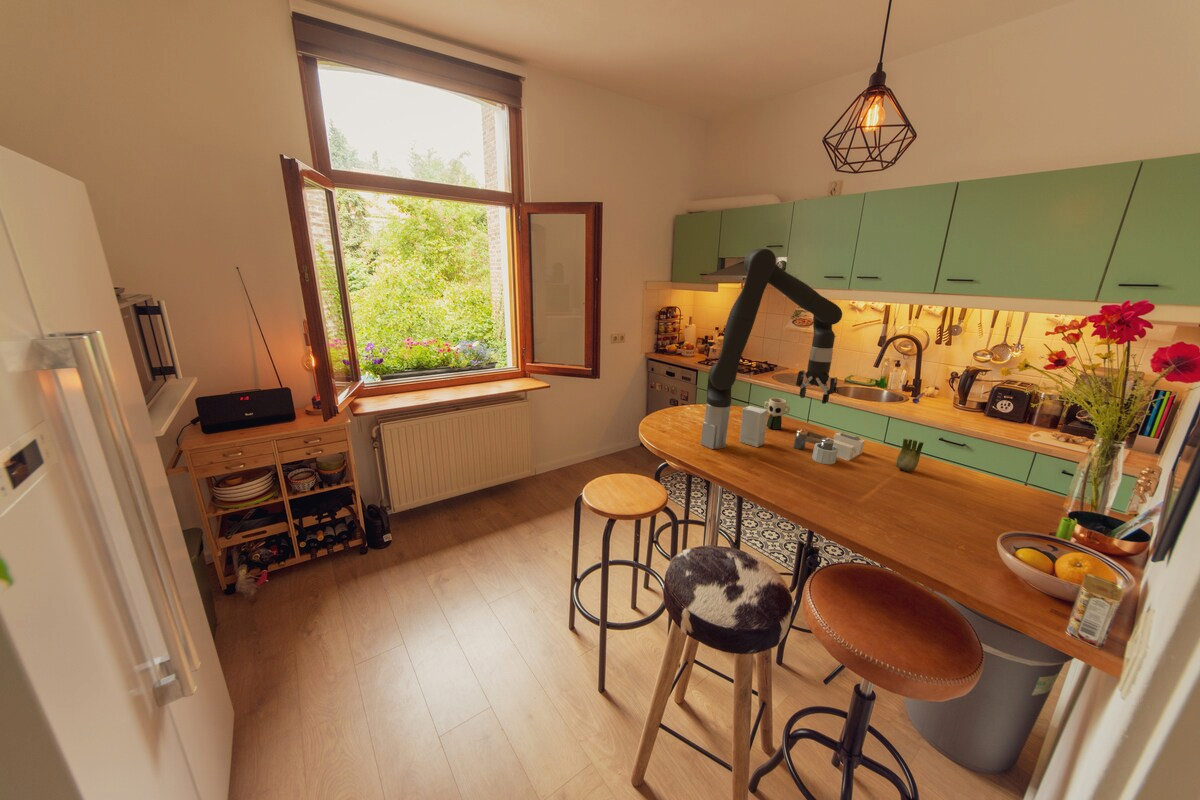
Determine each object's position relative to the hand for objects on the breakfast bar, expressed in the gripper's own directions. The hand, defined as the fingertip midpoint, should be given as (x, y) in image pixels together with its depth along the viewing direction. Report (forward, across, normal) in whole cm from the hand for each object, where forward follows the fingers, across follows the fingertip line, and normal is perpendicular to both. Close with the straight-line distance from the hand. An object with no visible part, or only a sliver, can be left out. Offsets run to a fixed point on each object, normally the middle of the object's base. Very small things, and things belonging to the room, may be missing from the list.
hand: (813, 400), depth 164 cm
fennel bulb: (+21, +30, +14) cm, 39 cm away
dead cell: (+20, +10, -5) cm, 23 cm away
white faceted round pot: (+21, +10, -5) cm, 23 cm away
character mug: (+21, -21, +11) cm, 31 cm away
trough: (+21, -2, +11) cm, 23 cm away
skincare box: (+20, -16, -13) cm, 29 cm away
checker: (+21, +10, +8) cm, 25 cm away
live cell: (+20, -1, -2) cm, 21 cm away
